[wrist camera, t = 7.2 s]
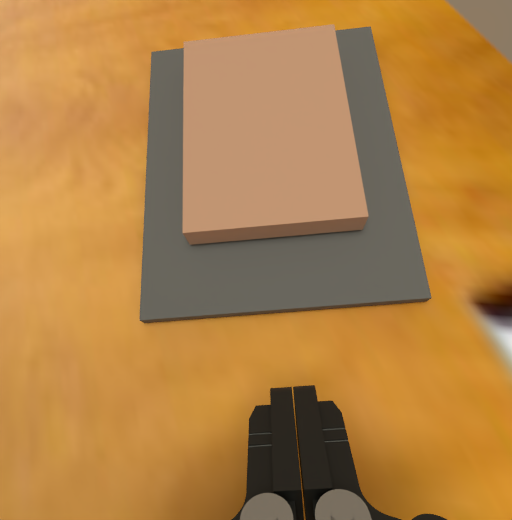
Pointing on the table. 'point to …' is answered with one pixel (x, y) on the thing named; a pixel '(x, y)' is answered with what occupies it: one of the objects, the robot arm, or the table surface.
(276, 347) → the table surface
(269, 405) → the robot arm
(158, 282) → the charcoal mat
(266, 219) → the terracotta tile
